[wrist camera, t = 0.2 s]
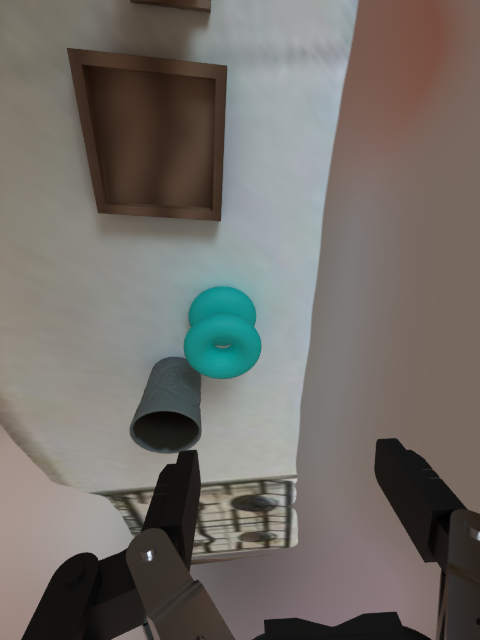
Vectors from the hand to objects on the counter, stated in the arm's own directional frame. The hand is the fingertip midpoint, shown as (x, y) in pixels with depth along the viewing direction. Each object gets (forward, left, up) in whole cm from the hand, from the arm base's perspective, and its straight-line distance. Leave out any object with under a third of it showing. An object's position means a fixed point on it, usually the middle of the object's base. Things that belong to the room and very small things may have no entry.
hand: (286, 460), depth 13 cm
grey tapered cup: (+9, -26, -31) cm, 41 cm away
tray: (-14, 0, -31) cm, 34 cm away
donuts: (+6, -11, -31) cm, 33 cm away
